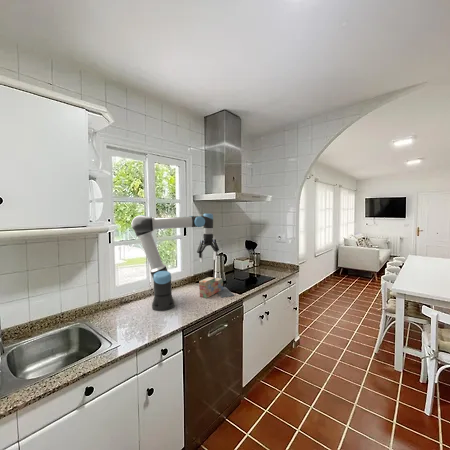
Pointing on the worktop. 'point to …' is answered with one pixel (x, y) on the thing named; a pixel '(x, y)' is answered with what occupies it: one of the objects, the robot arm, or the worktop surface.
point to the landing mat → (225, 293)
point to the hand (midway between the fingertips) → (208, 260)
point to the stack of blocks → (210, 286)
